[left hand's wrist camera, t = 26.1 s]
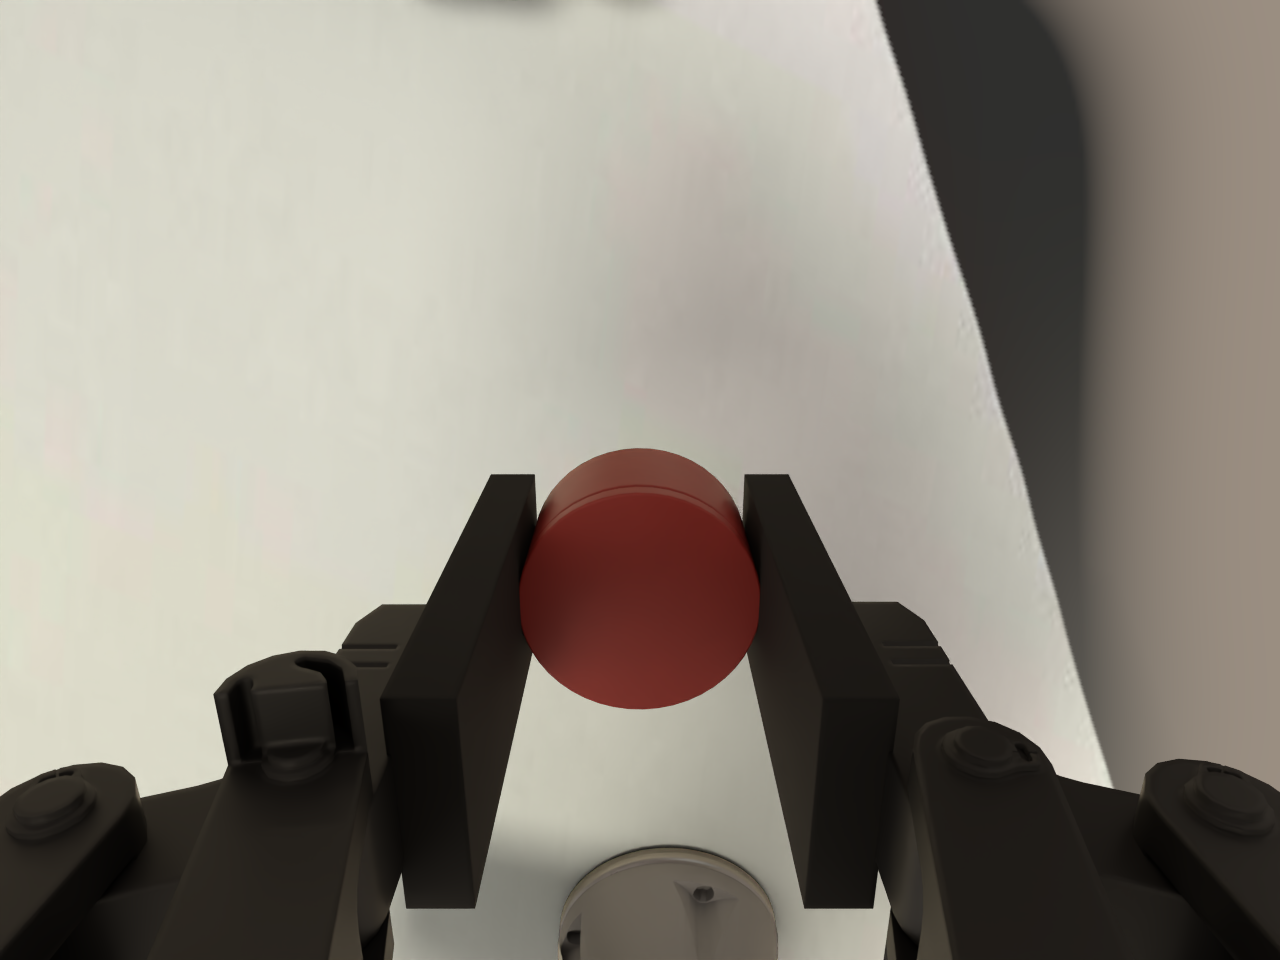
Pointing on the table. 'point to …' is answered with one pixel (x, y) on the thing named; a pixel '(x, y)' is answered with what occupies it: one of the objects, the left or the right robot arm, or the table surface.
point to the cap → (639, 581)
